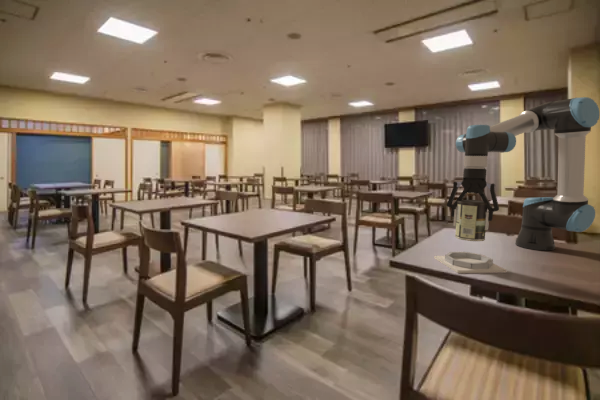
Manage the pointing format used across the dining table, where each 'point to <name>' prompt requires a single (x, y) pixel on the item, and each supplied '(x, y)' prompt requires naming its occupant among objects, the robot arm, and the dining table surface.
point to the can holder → (469, 263)
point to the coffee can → (471, 220)
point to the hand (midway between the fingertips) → (470, 227)
